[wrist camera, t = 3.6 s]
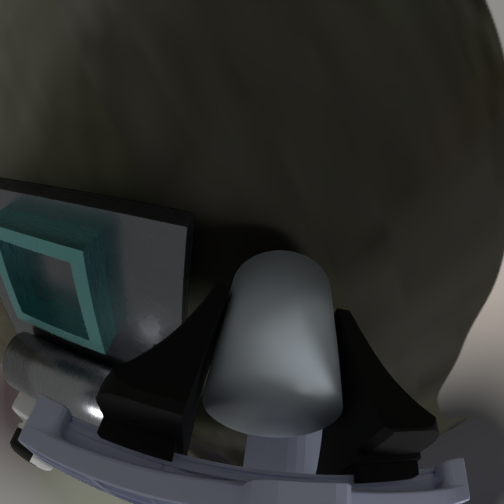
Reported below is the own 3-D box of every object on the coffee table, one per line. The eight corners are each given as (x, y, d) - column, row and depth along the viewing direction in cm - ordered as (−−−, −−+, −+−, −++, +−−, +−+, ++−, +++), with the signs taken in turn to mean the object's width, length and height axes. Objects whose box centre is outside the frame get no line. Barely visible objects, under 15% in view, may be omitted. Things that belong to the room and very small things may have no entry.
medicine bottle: (51, 392, 33) (19, 456, 23) (34, 365, 29) (-6, 436, 19) (91, 410, 33) (62, 481, 23) (77, 385, 29) (40, 466, 19)
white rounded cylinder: (344, 263, 14) (367, 384, 8) (312, 333, 16) (314, 442, 11) (240, 240, 14) (207, 358, 8) (226, 316, 16) (199, 424, 11)
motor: (195, 213, 16) (140, 308, 10) (184, 401, 26) (166, 465, 21) (-20, 174, 15) (-85, 220, 9) (34, 346, 26) (5, 393, 20)
